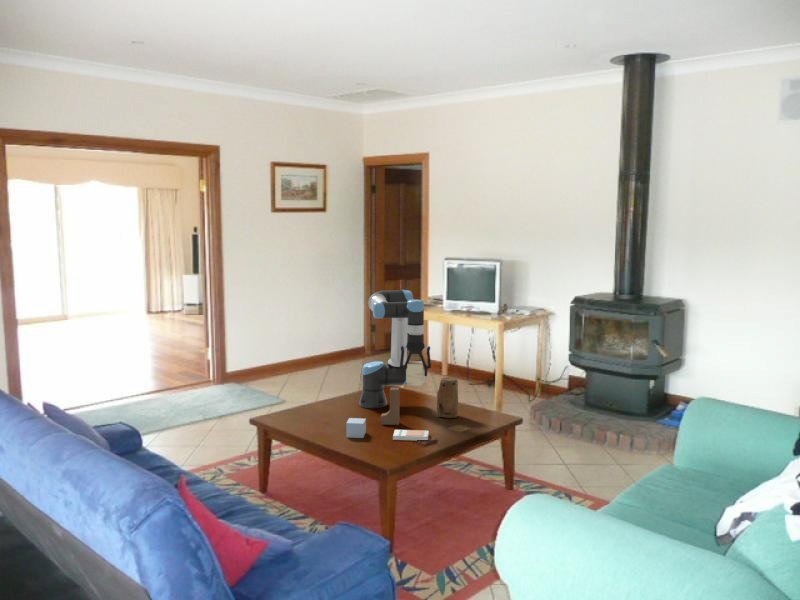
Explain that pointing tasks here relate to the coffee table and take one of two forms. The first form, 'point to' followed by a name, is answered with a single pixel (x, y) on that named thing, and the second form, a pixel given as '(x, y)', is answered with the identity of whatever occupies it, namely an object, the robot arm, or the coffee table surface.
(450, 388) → the block
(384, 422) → the wooden block
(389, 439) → the coffee table surface
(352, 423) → the slate block
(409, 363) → the beige box
